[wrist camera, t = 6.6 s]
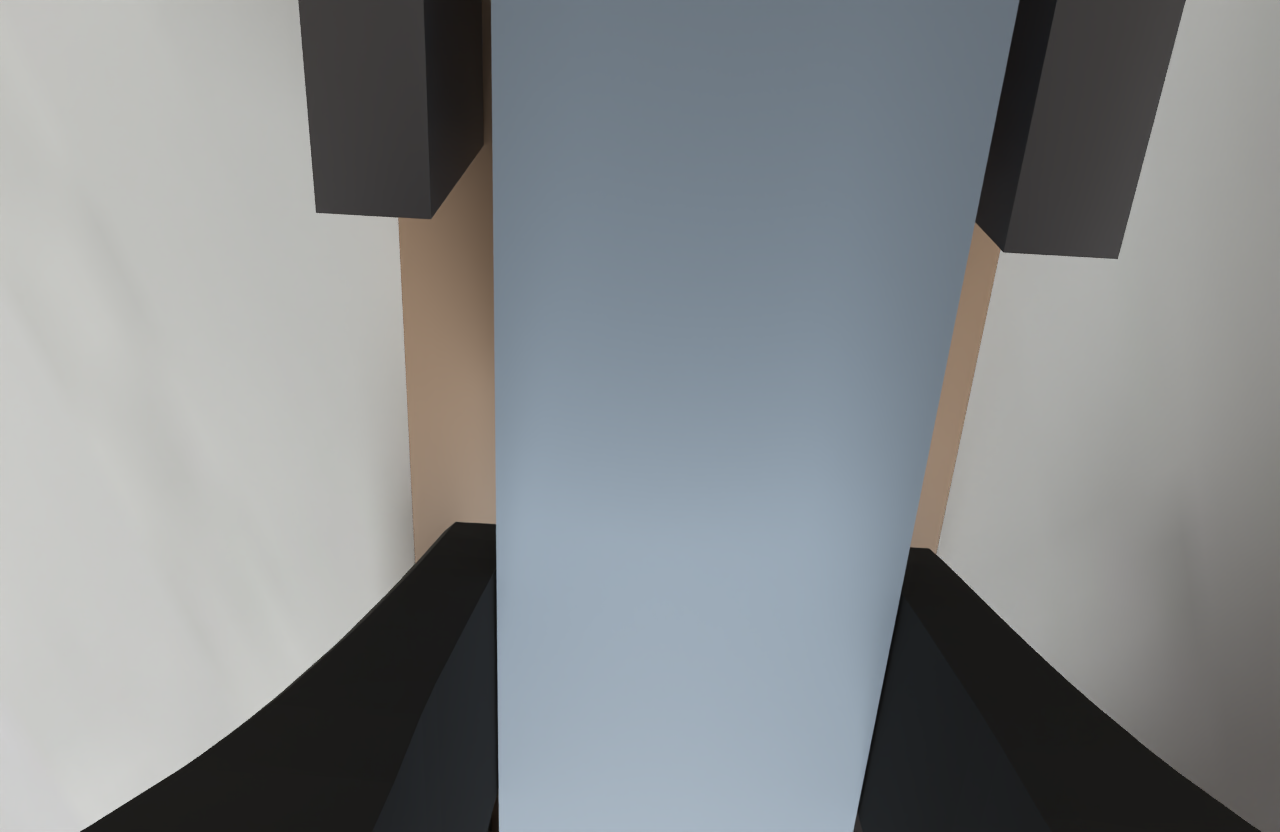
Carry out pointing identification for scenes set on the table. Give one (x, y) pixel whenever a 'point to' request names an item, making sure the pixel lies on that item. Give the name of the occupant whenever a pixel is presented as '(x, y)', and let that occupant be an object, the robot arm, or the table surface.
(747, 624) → the blue-grey long block
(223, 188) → the table surface
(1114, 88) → the bench frame
